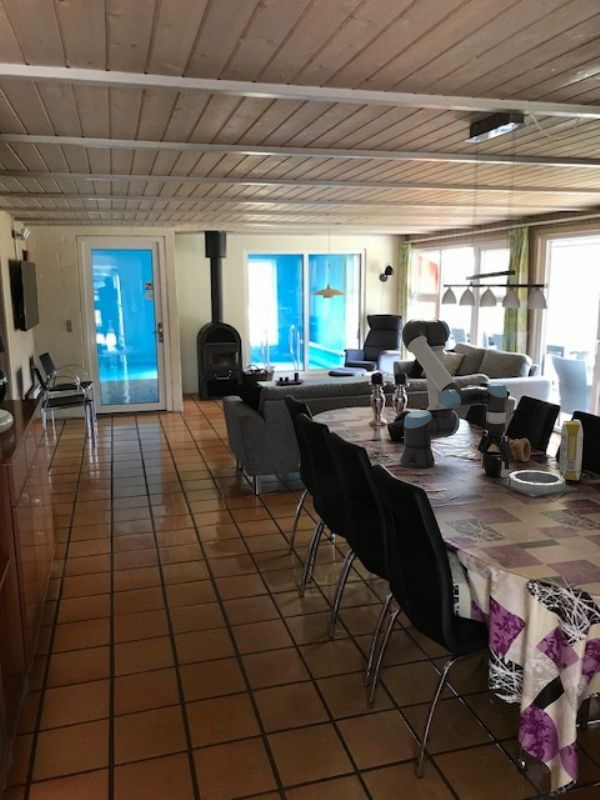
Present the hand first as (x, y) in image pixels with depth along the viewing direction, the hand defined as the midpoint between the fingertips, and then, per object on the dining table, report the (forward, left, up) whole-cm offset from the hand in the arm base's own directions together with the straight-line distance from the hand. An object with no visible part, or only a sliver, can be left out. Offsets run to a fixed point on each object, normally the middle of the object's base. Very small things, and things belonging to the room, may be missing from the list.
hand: (494, 472), depth 259 cm
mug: (0, 0, -2) cm, 2 cm away
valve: (+2, +68, -2) cm, 68 cm away
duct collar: (+6, -18, -2) cm, 19 cm away
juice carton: (+27, -13, -2) cm, 30 cm away
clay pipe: (+26, +21, -2) cm, 34 cm away
